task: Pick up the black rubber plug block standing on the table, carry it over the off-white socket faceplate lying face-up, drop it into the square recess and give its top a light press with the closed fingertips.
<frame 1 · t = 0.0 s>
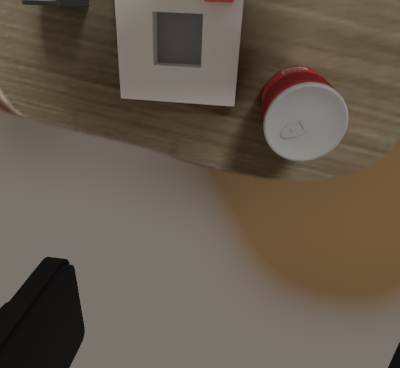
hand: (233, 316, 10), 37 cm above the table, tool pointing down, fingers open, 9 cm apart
canned food: (292, 97, 43), on the table
socket plate: (180, 38, 41), on the table
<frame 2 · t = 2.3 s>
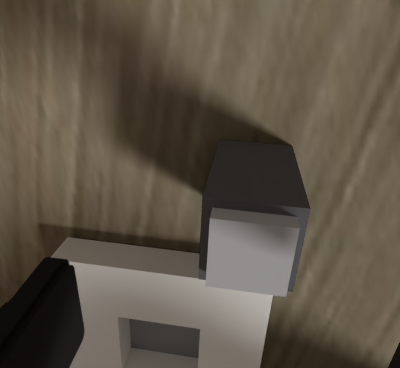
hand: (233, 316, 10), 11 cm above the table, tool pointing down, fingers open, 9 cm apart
plug: (251, 175, 20), on the table
socket plate: (166, 324, 26), on the table
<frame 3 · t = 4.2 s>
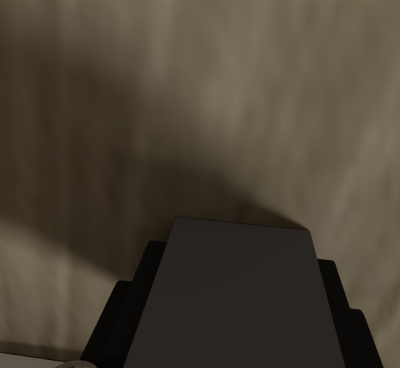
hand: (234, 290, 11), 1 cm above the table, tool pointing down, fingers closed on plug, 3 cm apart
plug: (236, 274, 11), on the table, touching gripper
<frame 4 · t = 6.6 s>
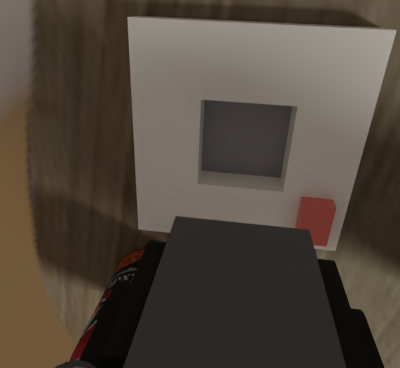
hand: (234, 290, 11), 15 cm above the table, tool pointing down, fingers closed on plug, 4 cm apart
canned food: (161, 278, 31), on the table
plug: (235, 273, 11), point 14 cm above the table, touching gripper
socket plate: (244, 135, 23), on the table
when the fingers open (3 cm above the table, at t = 8.9 s): plug drops 2 cm, resting on socket plate.
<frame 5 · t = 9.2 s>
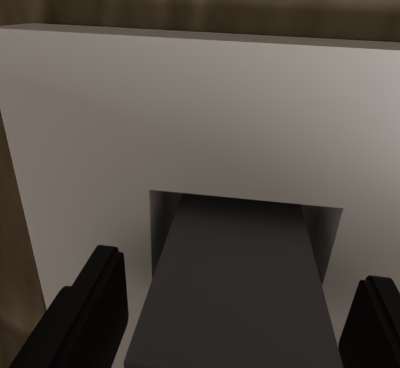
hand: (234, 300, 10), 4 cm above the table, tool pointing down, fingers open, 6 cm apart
plug: (235, 236, 13), resting on socket plate
socket plate: (237, 230, 13), on the table
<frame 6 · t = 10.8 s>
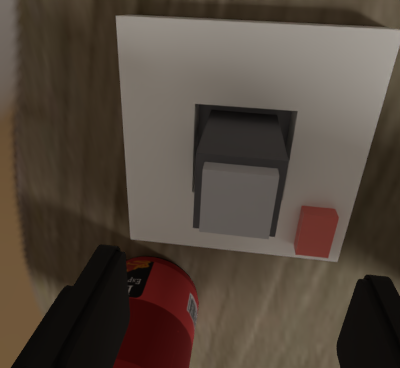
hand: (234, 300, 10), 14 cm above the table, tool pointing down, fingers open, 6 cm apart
canned food: (155, 288, 30), on the table
plug: (240, 143, 22), resting on socket plate
socket plate: (241, 140, 22), on the table
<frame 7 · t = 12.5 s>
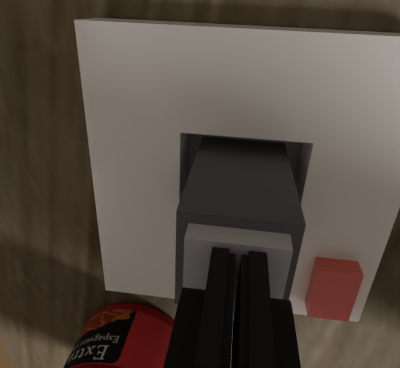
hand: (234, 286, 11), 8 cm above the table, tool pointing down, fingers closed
canned food: (140, 336, 25), on the table
plug: (239, 176, 18), resting on socket plate
socket plate: (240, 173, 18), on the table
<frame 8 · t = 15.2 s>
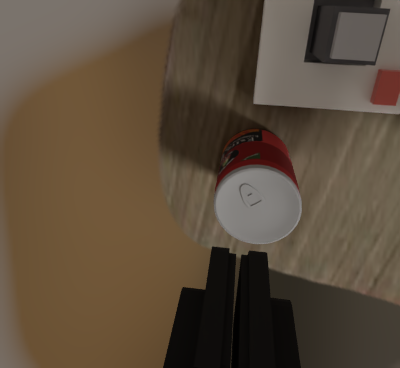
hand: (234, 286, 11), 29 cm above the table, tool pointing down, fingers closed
canned food: (255, 158, 40), on the table
plug: (335, 30, 33), resting on socket plate
socket plate: (335, 29, 33), on the table
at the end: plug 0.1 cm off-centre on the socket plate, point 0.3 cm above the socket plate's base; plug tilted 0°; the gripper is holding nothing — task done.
